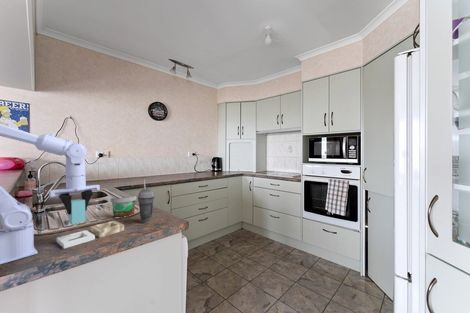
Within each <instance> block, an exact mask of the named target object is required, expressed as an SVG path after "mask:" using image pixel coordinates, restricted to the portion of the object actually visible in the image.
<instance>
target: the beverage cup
mask: <svg viewBox="0 0 470 313" xmlns="http://www.w3.org/2000/svg"><path fill="white" fill-rule="evenodd" d="M154 199H155V195H154V191H152V189H150V188H147V187H146V180H145V179H143V189H141V190H140V191H139V193H138V195H137V201H138V206H139V217H140V218H139V219H140V223H141V224H148V223H151V222H152V221H153V220H152V218H153V207H154Z"/></svg>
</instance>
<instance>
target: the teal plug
mask: <svg viewBox="0 0 470 313" xmlns="http://www.w3.org/2000/svg"><path fill="white" fill-rule="evenodd" d="M67 215H68V214H67ZM83 222H87V221H86V211H85V200H84V199H82V198H77V199H71V214H70V215H68V223H69V224H71V225H76V224H79V223H83Z"/></svg>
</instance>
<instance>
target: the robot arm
mask: <svg viewBox="0 0 470 313" xmlns="http://www.w3.org/2000/svg"><path fill="white" fill-rule="evenodd" d="M0 137H1V138H2V137H3V138H7V139H10V140H15V141H19V142H23V143H26V144H31V145H34V146H35V147H36V149H37V150H38V151H41V152H46V153H49V154H54V155H56V156H61V157H62V156H64V157H65V188H57V189H52V190H51V189H50V190H48V195H49V197H51V198H53V197H56V196H58V197H59V199H60V200H61V202H62V204H63V206H64V207H65V211H66V215H70V214H71V200H72V196H71V195H72V194H78V193H80V196H81V199H84V200H85V212H87V210H88V206H89V203H90V200H91V198H92V197H93V195H94V192H93V191H100V189H101V188H100V187H101V185H100V184H91V185H86V184H87V181H86V180H87V179H86V175H87V174H86V163H85V162H86V159H85V158H86V155H87V154H88V150H87V149H86V147H85V146H84V145H83V144H81V143H77V142H76V143H74V142H73V140H71V139H68V140H66V139H63V138H60V137H56V134H54V133H50V134H47V133H44V134H41V135H37V134H34V133H30V132H27V131H24V130H22V129H19V128H16V127H12V126H8V125H7V124H2V123H0ZM32 214H33V213H32V212H31V208H30V207H29V205H27V204H24V203H21V202H19V201H18V200H17V199H16V198H15V197H13V196H12V195H11V194H10V193H9V192H8V191H7V190H6V189H5V188H3V187H2V185H0V224H1V226H0V265H3V264H6V263H9V262H13V261H17V260H20V259H23V258H27V257H31V256H33V255H37V254H38V253H39V252H38V251H37V249H36V248H35V246H34V245H35V244H34V243H35V242H34V240H35V239H34V238H35V237H34V235H35V234H34V232H35V231H34V229H35V228H34V222H33V221H32V220H33V215H32Z"/></svg>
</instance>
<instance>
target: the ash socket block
mask: <svg viewBox="0 0 470 313" xmlns="http://www.w3.org/2000/svg"><path fill="white" fill-rule="evenodd" d="M124 231H125V224H123V223H121V222H119V221H116V220H111V221H108V222H101V223H100V224H95V225H92V226H90V233H92V234H94V235H95V237H97V238H100V239H101V238H103V237H104V238H105V237H107V236H111V235H113V234H118V233H121V232H124Z"/></svg>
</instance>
